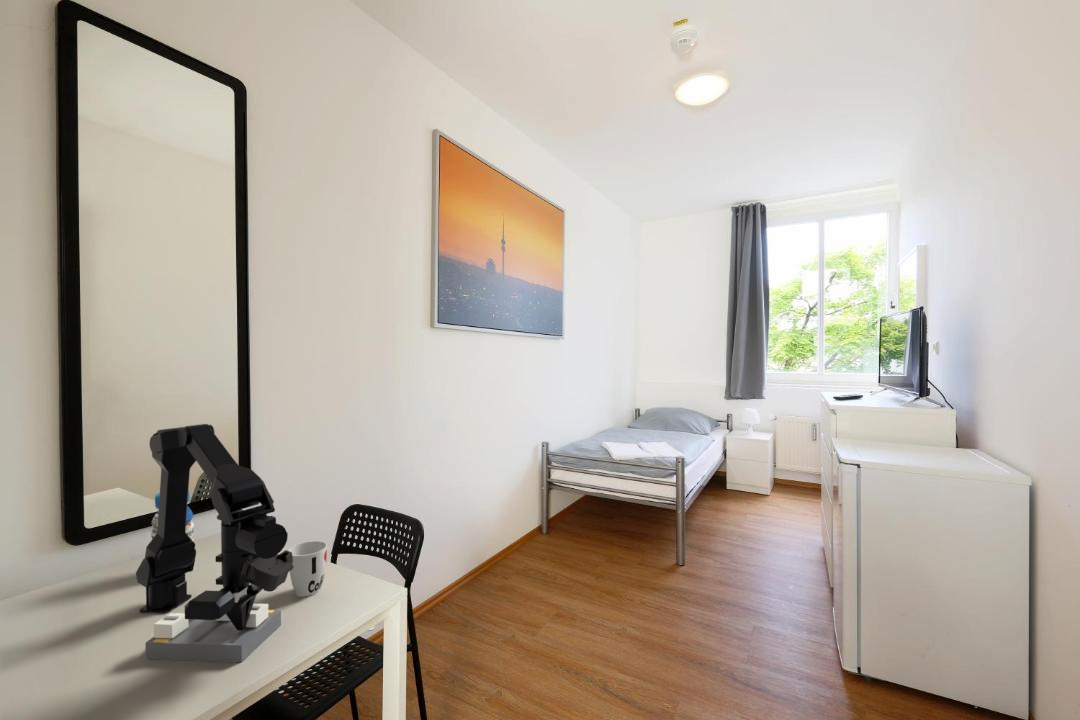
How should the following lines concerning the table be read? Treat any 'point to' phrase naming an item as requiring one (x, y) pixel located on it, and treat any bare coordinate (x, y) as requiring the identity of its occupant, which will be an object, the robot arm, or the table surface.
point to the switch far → (257, 615)
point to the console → (213, 641)
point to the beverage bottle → (188, 520)
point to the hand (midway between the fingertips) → (241, 629)
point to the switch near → (170, 625)
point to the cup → (308, 567)
